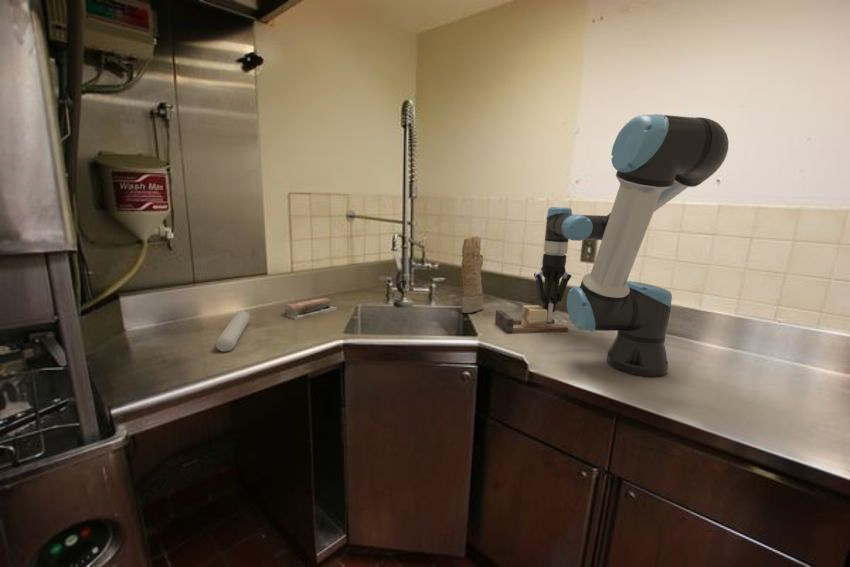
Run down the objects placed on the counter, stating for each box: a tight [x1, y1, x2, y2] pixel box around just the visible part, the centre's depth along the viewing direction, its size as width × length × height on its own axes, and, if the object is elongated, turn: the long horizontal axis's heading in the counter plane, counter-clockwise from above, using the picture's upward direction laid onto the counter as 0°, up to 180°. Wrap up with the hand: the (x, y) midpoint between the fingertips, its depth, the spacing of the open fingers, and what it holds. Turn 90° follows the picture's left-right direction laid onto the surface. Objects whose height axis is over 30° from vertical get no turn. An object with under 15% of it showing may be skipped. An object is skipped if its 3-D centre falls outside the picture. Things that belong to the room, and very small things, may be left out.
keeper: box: [520, 305, 548, 328], centre depth 137 cm, size 6×6×7 cm
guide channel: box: [494, 309, 569, 335], centre depth 137 cm, size 12×22×6 cm, turn 101°
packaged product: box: [280, 298, 338, 321], centre depth 148 cm, size 18×5×10 cm
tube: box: [215, 310, 251, 353], centre depth 120 cm, size 5×5×25 cm
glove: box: [461, 235, 485, 314], centre depth 158 cm, size 14×10×30 cm
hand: (547, 320), depth 138 cm, fingers closed
